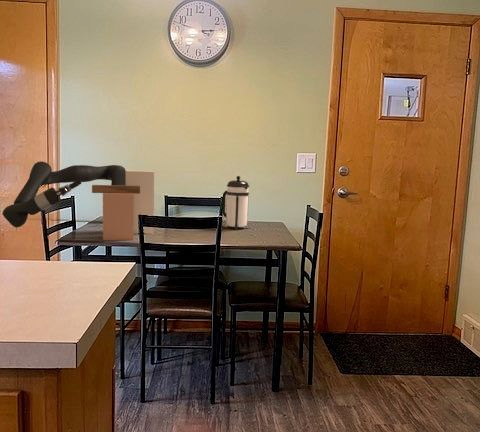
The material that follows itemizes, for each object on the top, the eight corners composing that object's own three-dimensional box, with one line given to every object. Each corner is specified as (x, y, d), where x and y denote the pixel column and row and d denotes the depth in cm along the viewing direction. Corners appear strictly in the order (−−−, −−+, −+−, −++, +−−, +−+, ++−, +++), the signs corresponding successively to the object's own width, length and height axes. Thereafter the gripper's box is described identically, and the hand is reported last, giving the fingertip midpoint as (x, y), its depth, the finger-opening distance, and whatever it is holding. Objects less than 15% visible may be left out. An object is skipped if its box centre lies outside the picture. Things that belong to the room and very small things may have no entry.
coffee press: (250, 226, 264) (252, 175, 260) (248, 231, 248) (250, 177, 244) (221, 224, 266) (223, 174, 261) (217, 229, 250) (219, 175, 246)
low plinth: (104, 236, 220) (104, 191, 217) (133, 235, 223) (133, 192, 220) (103, 240, 210) (102, 193, 207) (133, 239, 213) (133, 194, 210)
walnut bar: (92, 192, 212) (92, 184, 212) (139, 192, 217) (139, 185, 217) (92, 192, 209) (91, 185, 208) (139, 193, 214) (140, 186, 213)
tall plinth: (126, 230, 237) (126, 170, 232) (152, 230, 240) (153, 170, 235) (125, 233, 227) (125, 171, 222) (153, 233, 230) (154, 171, 225)
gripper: (40, 193, 199) (73, 176, 201) (46, 190, 212) (77, 174, 214) (49, 207, 200) (82, 190, 203) (54, 204, 214) (85, 187, 216)
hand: (79, 182), depth 208 cm, fingers open, 8 cm apart
